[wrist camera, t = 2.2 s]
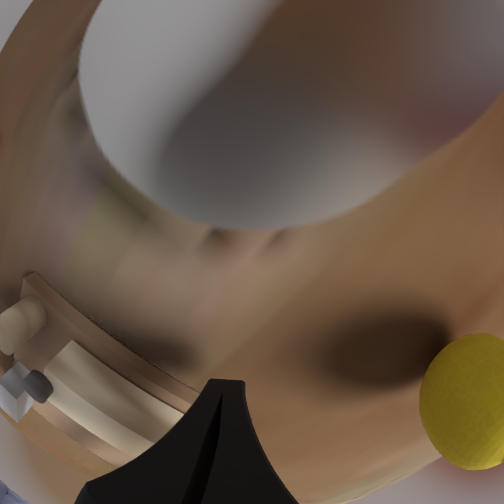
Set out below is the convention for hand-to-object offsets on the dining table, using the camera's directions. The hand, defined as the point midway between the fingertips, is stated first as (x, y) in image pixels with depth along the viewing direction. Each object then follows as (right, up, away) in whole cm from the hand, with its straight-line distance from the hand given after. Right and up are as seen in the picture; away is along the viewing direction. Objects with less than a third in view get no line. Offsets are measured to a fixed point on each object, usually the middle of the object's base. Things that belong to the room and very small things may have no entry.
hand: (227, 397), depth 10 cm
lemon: (+11, 0, +2) cm, 11 cm away
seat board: (-8, -4, +4) cm, 10 cm away
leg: (-5, -2, +2) cm, 6 cm away
